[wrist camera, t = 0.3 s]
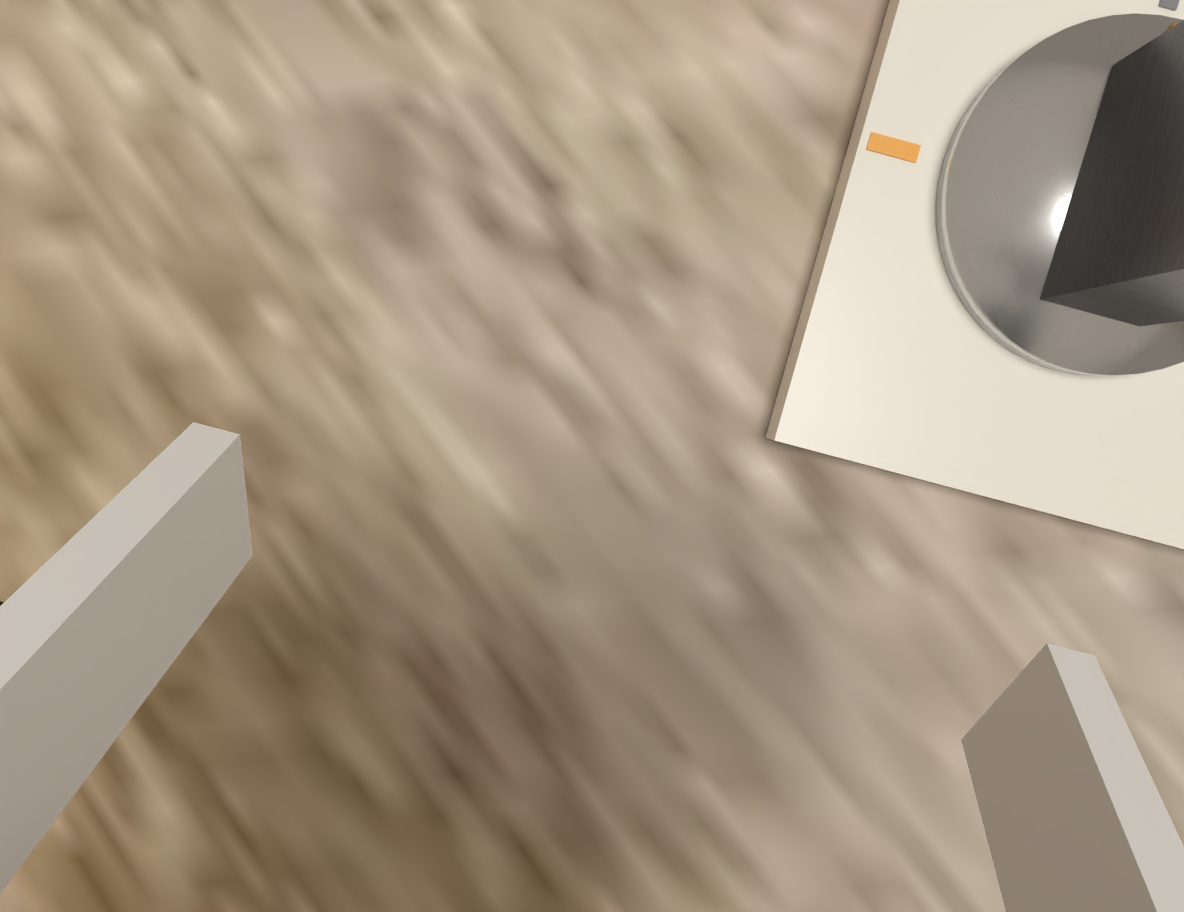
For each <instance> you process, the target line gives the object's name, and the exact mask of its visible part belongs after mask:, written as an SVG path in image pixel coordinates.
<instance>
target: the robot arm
mask: <svg viewBox="0 0 1184 912" xmlns="http://www.w3.org/2000/svg"><path fill="white" fill-rule="evenodd" d="M252 556H253V550H252V541H251V532H250V523H249V513H248V504H247V495H246V486H245V476H244V467H243V458H242V448H241V439H240V434H236V433H233V432H229V431H225V430H221V429H217V428H213V427H209V426H206V425H202V424H198V423H194V422H193V423H192V424H191V425H190V426H189V427H188V428H187V429H186V430H185V431H184V432H183V433H182V434H181V435H180V436H178V437H177V438H176V439H175V440H174V441H173V442H172V443H171V444H170V445H169V446H168V447H167V448H166V449H165V450H164V451H163V452H162V453H161V454H160V455H159V456H157V457H156V458H155V459H154V460H153V461H152V462H151V463H150V464H149V465H148V466H147V467H146V468H145V469H144V470H143V471H142V472H141V473H140V474H139V475H138V476H136V477H135V478H134V479H133V480H132V481H131V482H130V483H129V484H128V485H127V486H126V487H125V488H124V489H123V490H122V491H121V492H120V493H119V494H118V495H117V496H115V497H114V498H113V499H112V500H111V501H110V502H109V503H108V504H107V505H106V506H105V507H104V508H103V509H102V510H101V511H100V512H99V513H98V514H97V515H96V516H94V517H93V518H92V519H91V520H90V521H89V522H88V523H87V524H86V525H85V526H84V527H83V528H82V529H81V530H80V531H79V532H78V533H77V534H76V535H75V536H73V537H72V538H71V539H70V540H69V541H68V542H67V543H66V544H65V545H64V546H63V547H62V548H61V549H60V550H59V551H58V552H57V553H56V554H55V555H54V556H52V557H51V558H50V559H49V560H48V561H47V562H46V563H45V564H44V565H43V566H42V567H41V568H40V569H39V570H38V571H37V572H36V573H35V574H34V575H33V576H31V577H30V578H29V579H28V580H27V581H26V582H25V583H24V584H23V585H22V586H21V587H20V588H19V589H18V590H17V591H16V592H15V593H14V594H13V595H12V596H10V597H9V598H8V599H7V600H6V601H5V602H1V601H0V894H1V892H2V891H3V890H4V888H5V887H6V886H7V884H8V883H9V882H10V880H11V879H12V878H13V876H14V875H15V874H16V872H17V871H18V870H19V868H20V867H21V866H22V864H23V863H24V862H25V860H26V859H27V858H28V856H29V855H30V854H31V852H32V851H33V850H34V848H35V847H36V846H37V844H38V843H39V842H40V840H41V839H42V838H43V836H44V835H45V834H46V832H47V831H48V829H49V828H50V827H51V825H52V824H53V823H54V821H55V820H56V819H57V817H58V816H59V815H60V813H61V812H62V811H63V809H64V808H65V807H66V805H67V804H68V803H69V801H70V800H71V799H72V797H73V796H74V795H75V793H76V792H77V791H78V789H79V788H80V787H81V785H82V784H83V783H84V781H85V780H86V779H87V777H88V776H89V775H90V773H91V772H92V771H93V769H94V768H95V766H96V765H97V764H98V762H99V761H100V760H101V758H102V757H103V756H104V754H105V753H106V752H107V750H108V749H109V748H110V746H111V745H112V744H113V742H114V741H115V740H116V738H117V737H118V736H119V734H120V733H121V732H122V730H123V729H124V728H125V726H126V725H127V724H128V722H129V721H130V720H131V718H132V717H133V716H134V714H135V713H136V712H137V710H138V709H139V708H140V706H141V705H142V703H143V702H144V701H145V699H146V698H147V697H148V695H149V694H150V693H151V691H152V690H153V689H154V687H155V686H156V685H157V683H158V682H159V681H160V679H161V678H162V677H163V675H164V674H165V673H166V671H167V670H168V669H169V667H170V666H171V665H172V663H173V662H174V661H175V659H176V658H177V657H178V655H179V654H180V653H181V651H182V650H183V649H184V647H185V646H186V645H187V643H188V642H189V640H190V639H191V638H192V636H193V635H194V634H195V632H196V631H197V630H198V628H199V627H200V626H201V624H202V623H203V622H204V620H205V619H206V618H207V616H208V615H209V614H210V612H211V611H212V610H213V608H214V607H215V606H216V604H217V603H218V602H219V600H220V599H221V598H222V596H223V595H224V594H225V592H226V591H227V590H228V588H229V587H230V586H231V584H232V583H233V582H234V580H235V579H236V577H237V576H238V575H239V573H240V572H241V571H242V569H243V568H244V567H245V565H246V564H247V563H248V561H249V560H250V559H251V557H252ZM962 744H963V748H964V752H965V755H966V759H967V763H968V767H969V771H970V775H971V778H972V782H973V786H974V790H975V794H976V798H977V801H978V805H979V809H980V813H981V817H982V821H983V824H984V828H985V832H986V836H987V840H988V844H989V847H990V851H991V855H992V859H993V863H994V867H995V870H996V874H997V878H998V882H999V886H1000V890H1001V893H1002V897H1003V901H1004V905H1005V909H1006V912H1184V846H1183V844H1182V842H1181V840H1180V838H1179V835H1178V833H1177V831H1176V829H1175V827H1174V825H1173V823H1172V820H1171V818H1170V816H1169V814H1168V812H1167V810H1166V808H1165V805H1164V803H1163V801H1162V799H1161V797H1160V795H1159V793H1158V790H1157V788H1156V786H1155V784H1154V782H1153V780H1152V778H1151V775H1150V773H1149V771H1148V769H1147V767H1146V765H1145V763H1144V760H1143V758H1142V756H1141V754H1140V752H1139V750H1138V748H1137V745H1136V743H1135V741H1134V739H1133V737H1132V735H1131V733H1130V730H1129V728H1128V726H1127V724H1126V722H1125V720H1124V718H1123V715H1122V713H1121V711H1120V709H1119V707H1118V705H1117V703H1116V700H1115V698H1114V696H1113V694H1112V692H1111V690H1110V687H1109V685H1108V683H1107V681H1106V679H1105V677H1104V675H1103V672H1102V670H1101V668H1100V666H1099V664H1098V662H1097V660H1096V657H1095V656H1094V655H1090V654H1087V653H1083V652H1079V651H1075V650H1071V649H1067V648H1063V647H1059V646H1056V645H1052V644H1048V643H1047V644H1046V645H1045V646H1044V647H1043V648H1042V650H1041V651H1040V652H1039V653H1038V654H1037V655H1036V656H1035V657H1034V659H1033V660H1032V661H1031V662H1030V663H1029V664H1028V665H1027V666H1026V668H1025V669H1024V670H1023V671H1022V672H1021V673H1020V674H1019V675H1018V677H1017V678H1016V679H1015V680H1014V681H1013V682H1012V683H1011V684H1010V686H1009V687H1008V688H1007V689H1006V690H1005V691H1004V692H1003V693H1002V695H1001V696H1000V697H999V698H998V699H997V700H996V701H995V702H994V704H993V705H992V706H991V707H990V708H989V709H988V710H987V711H986V713H985V714H984V715H983V716H982V717H981V718H980V719H979V720H978V722H977V723H976V724H975V725H974V726H973V727H972V728H971V729H970V731H969V732H968V733H967V734H966V735H965V736H964V737H963V738H962Z"/></svg>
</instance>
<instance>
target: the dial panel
mask: <svg viewBox="0 0 1184 912" xmlns="http://www.w3.org/2000/svg"><path fill="white" fill-rule="evenodd" d="M1134 13H1138V14H1154V15H1163V16H1167V17H1172V18H1177V19H1182V20H1184V0H890V1H889V4H888V8H887V11H886V15H885V18H884V22H883V25H882V29H881V32H880V36H879V39H878V43H877V46H876V50H875V53H874V57H873V60H872V64H871V67H870V71H869V74H868V78H867V81H866V85H865V89H864V92H863V96H862V99H861V103H860V106H859V110H858V113H857V117H856V120H855V124H854V127H853V131H852V134H851V138H850V141H849V145H848V148H847V152H846V155H845V159H844V162H843V166H842V169H841V173H840V176H839V180H838V184H837V187H836V191H835V194H834V198H833V201H832V205H831V208H830V212H829V215H828V219H827V222H826V226H825V229H824V233H823V236H822V240H821V243H820V247H819V250H818V254H817V257H816V261H815V264H814V268H813V272H812V275H811V279H810V282H809V286H808V289H807V293H806V296H805V300H804V303H803V307H802V310H801V314H800V317H799V321H798V324H797V328H796V331H795V335H794V338H793V342H792V345H791V349H790V352H789V356H788V360H787V363H786V367H785V370H784V374H783V377H782V381H781V384H780V388H779V391H778V395H777V398H776V402H775V405H774V409H773V412H772V416H771V419H770V423H769V426H768V430H767V433H766V437H765V438H767V439H771V440H775V441H778V442H782V443H786V444H790V445H793V446H797V447H801V448H805V449H808V450H812V451H816V452H820V453H824V454H827V455H831V456H835V457H839V458H842V459H846V460H850V461H854V462H857V463H861V464H865V465H869V466H872V467H876V468H880V469H884V470H888V471H891V472H895V473H899V474H903V475H906V476H910V477H914V478H918V479H921V480H925V481H929V482H933V483H936V484H940V485H944V486H948V487H952V488H955V489H959V490H963V491H967V492H970V493H974V494H978V495H982V496H985V497H989V498H993V499H997V500H1000V501H1004V502H1008V503H1012V504H1016V505H1019V506H1023V507H1027V508H1031V509H1034V510H1038V511H1042V512H1046V513H1049V514H1053V515H1057V516H1061V517H1064V518H1068V519H1072V520H1076V521H1080V522H1083V523H1087V524H1091V525H1095V526H1098V527H1102V528H1106V529H1110V530H1113V531H1117V532H1121V533H1125V534H1128V535H1132V536H1136V537H1140V538H1144V539H1147V540H1151V541H1155V542H1159V543H1162V544H1166V545H1170V546H1174V547H1177V548H1181V549H1184V362H1182V363H1179V364H1176V365H1173V366H1170V367H1167V368H1164V369H1160V370H1155V371H1150V372H1145V373H1140V374H1128V375H1110V376H1091V375H1075V374H1070V373H1065V372H1060V371H1055V370H1052V369H1049V368H1046V367H1043V366H1040V365H1037V364H1035V363H1032V362H1030V361H1028V360H1026V359H1024V358H1022V357H1020V356H1018V355H1016V354H1015V353H1013V352H1012V351H1010V350H1009V349H1007V348H1006V347H1004V346H1003V345H1001V344H1000V343H999V342H997V341H996V340H995V339H994V338H993V337H992V336H991V335H989V334H988V333H987V332H986V331H985V330H984V329H983V328H982V327H981V326H980V325H979V324H978V323H977V321H976V320H975V319H974V318H973V317H972V315H971V314H970V313H969V312H968V311H967V309H966V308H965V306H964V304H963V303H962V301H961V300H960V298H959V296H958V295H957V293H956V291H955V289H954V287H953V285H952V283H951V280H950V278H949V276H948V274H947V272H946V268H945V265H944V262H943V258H942V255H941V252H940V246H939V240H938V234H937V225H936V200H937V189H938V181H939V177H940V173H941V168H942V164H943V160H944V157H945V154H946V152H947V149H948V146H949V143H950V141H951V138H952V136H953V134H954V132H955V130H956V128H957V126H958V124H959V123H960V121H961V119H962V117H963V116H964V114H965V113H966V111H967V110H968V108H969V107H970V105H971V104H972V102H973V101H974V99H975V98H976V97H977V96H978V95H979V94H980V92H981V91H982V90H983V89H984V88H985V87H986V86H987V84H988V83H989V82H990V81H991V80H992V79H993V78H995V77H996V76H997V75H998V74H999V73H1000V72H1001V71H1002V70H1004V69H1005V68H1006V67H1007V66H1008V65H1009V64H1011V63H1012V62H1013V61H1014V60H1016V59H1017V58H1018V57H1019V56H1021V55H1022V54H1023V53H1025V52H1026V51H1027V50H1029V49H1030V48H1032V47H1033V46H1035V45H1036V44H1038V43H1039V42H1041V41H1042V40H1044V39H1045V38H1047V37H1049V36H1051V35H1053V34H1055V33H1057V32H1059V31H1061V30H1063V29H1065V28H1068V27H1070V26H1073V25H1076V24H1079V23H1082V22H1085V21H1087V20H1091V19H1096V18H1101V17H1106V16H1110V15H1120V14H1134Z"/></svg>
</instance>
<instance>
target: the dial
mask: <svg viewBox="0 0 1184 912" xmlns="http://www.w3.org/2000/svg"><path fill="white" fill-rule="evenodd" d="M936 225H937V234H938V240H939V246H940V252H941V255H942V258H943V262H944V265H945V268H946V272H947V274H948V276H949V278H950V280H951V283H952V285H953V287H954V289H955V291H956V293H957V295H958V296H959V298H960V300H961V301H962V303H963V304H964V306H965V308H966V309H967V311H968V312H969V313H970V314H971V315H972V317H973V318H974V319H975V320H976V321H977V323H978V324H979V325H980V326H981V327H982V328H983V329H984V330H985V331H986V332H987V333H988V334H989V335H991V336H992V337H993V338H994V339H995V340H996V341H997V342H999V343H1000V344H1001V345H1003V346H1004V347H1006V348H1007V349H1009V350H1010V351H1012V352H1013V353H1015V354H1016V355H1018V356H1020V357H1022V358H1024V359H1026V360H1028V361H1030V362H1032V363H1035V364H1037V365H1040V366H1043V367H1046V368H1049V369H1052V370H1055V371H1060V372H1065V373H1070V374H1075V375H1091V376H1110V375H1128V374H1140V373H1145V372H1150V371H1155V370H1160V369H1164V368H1167V367H1170V366H1173V365H1176V364H1179V363H1182V362H1184V20H1182V19H1177V18H1172V17H1167V16H1163V15H1154V14H1138V13H1134V14H1120V15H1110V16H1106V17H1101V18H1096V19H1091V20H1087V21H1085V22H1082V23H1079V24H1076V25H1073V26H1070V27H1068V28H1065V29H1063V30H1061V31H1059V32H1057V33H1055V34H1053V35H1051V36H1049V37H1047V38H1045V39H1044V40H1042V41H1041V42H1039V43H1038V44H1036V45H1035V46H1033V47H1032V48H1030V49H1029V50H1027V51H1026V52H1025V53H1023V54H1022V55H1021V56H1019V57H1018V58H1017V59H1016V60H1014V61H1013V62H1012V63H1011V64H1009V65H1008V66H1007V67H1006V68H1005V69H1004V70H1002V71H1001V72H1000V73H999V74H998V75H997V76H996V77H995V78H993V79H992V80H991V81H990V82H989V83H988V84H987V86H986V87H985V88H984V89H983V90H982V91H981V92H980V94H979V95H978V96H977V97H976V98H975V99H974V101H973V102H972V104H971V105H970V107H969V108H968V110H967V111H966V113H965V114H964V116H963V117H962V119H961V121H960V123H959V124H958V126H957V128H956V130H955V132H954V134H953V136H952V138H951V141H950V143H949V146H948V149H947V152H946V154H945V157H944V160H943V164H942V168H941V173H940V177H939V181H938V189H937V200H936Z"/></svg>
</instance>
